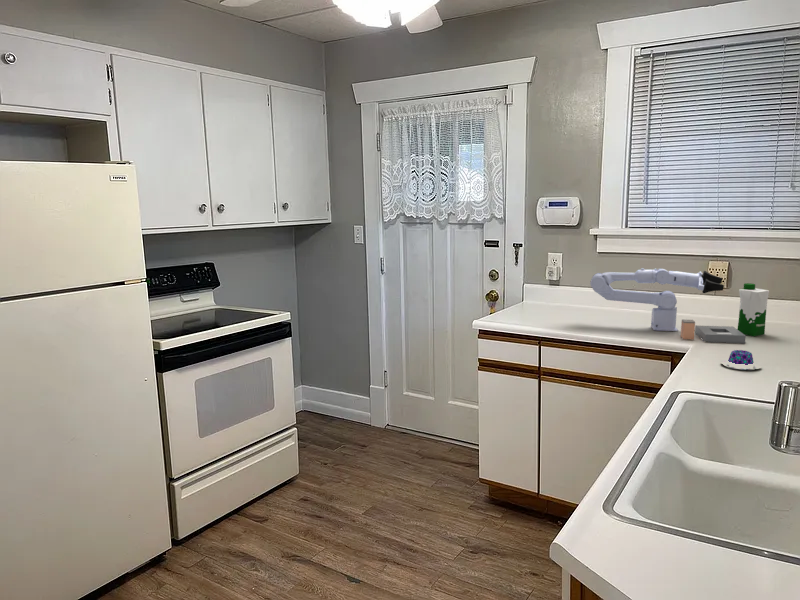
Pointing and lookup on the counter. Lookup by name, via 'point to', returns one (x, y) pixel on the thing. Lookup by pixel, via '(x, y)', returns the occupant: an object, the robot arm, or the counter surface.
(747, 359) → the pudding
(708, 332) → the outlet box
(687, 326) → the tan rectangular block
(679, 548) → the counter surface
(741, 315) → the milk carton
